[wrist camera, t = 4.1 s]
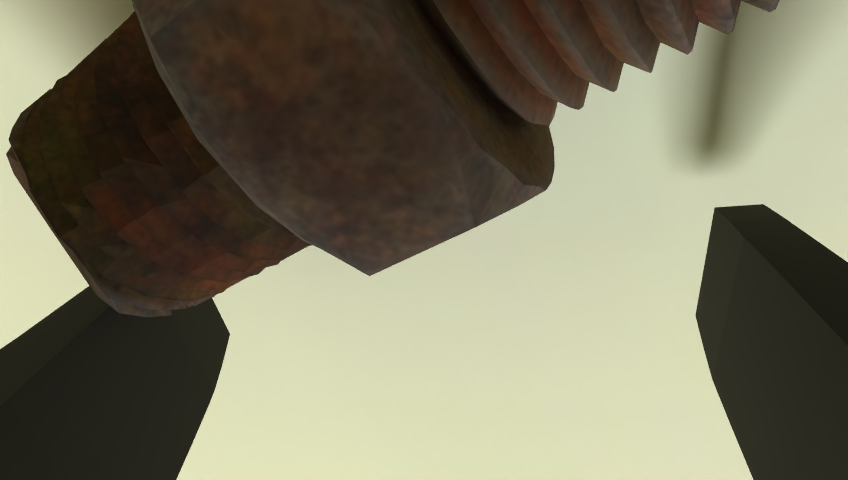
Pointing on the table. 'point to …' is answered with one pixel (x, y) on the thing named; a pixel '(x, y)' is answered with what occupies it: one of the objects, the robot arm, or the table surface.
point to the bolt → (315, 129)
